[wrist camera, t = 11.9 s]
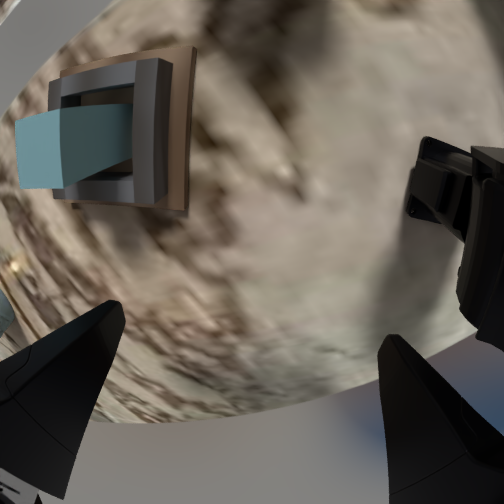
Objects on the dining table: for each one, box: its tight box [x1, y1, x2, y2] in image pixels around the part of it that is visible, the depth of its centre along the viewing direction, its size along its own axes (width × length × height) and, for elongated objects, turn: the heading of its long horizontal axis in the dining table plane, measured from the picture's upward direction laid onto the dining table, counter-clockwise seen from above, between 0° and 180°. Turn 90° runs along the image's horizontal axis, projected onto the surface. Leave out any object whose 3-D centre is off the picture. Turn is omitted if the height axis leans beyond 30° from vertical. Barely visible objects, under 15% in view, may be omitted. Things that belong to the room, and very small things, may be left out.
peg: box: [15, 104, 133, 189], centre depth 13 cm, size 4×4×8 cm
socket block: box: [48, 46, 197, 211], centre depth 16 cm, size 12×12×4 cm
